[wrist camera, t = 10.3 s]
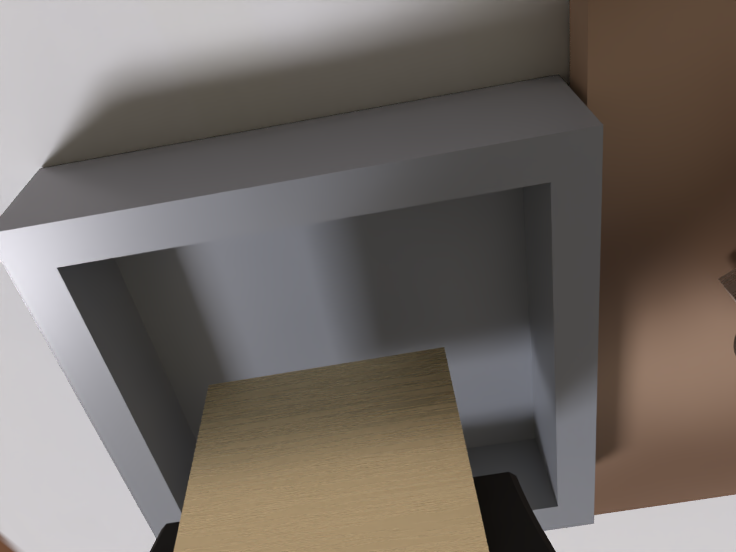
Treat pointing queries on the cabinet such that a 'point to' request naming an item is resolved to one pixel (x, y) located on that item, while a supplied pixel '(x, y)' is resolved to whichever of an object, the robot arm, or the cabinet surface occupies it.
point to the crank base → (663, 245)
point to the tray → (334, 277)
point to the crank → (730, 290)
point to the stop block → (334, 463)
